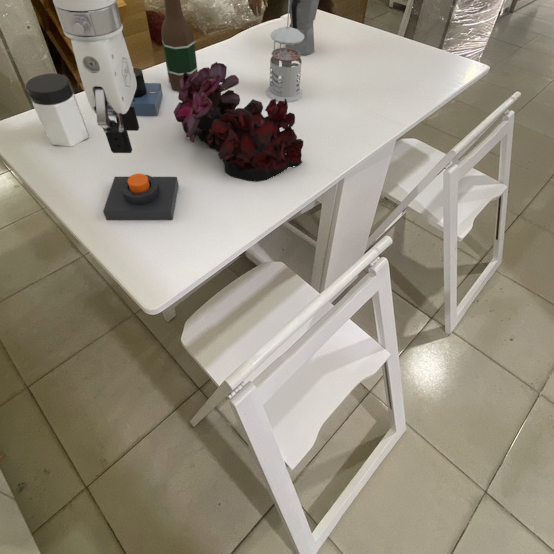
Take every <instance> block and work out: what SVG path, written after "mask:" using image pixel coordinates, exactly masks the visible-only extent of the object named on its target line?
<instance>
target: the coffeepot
mask: <svg viewBox="0 0 554 554" xmlns="http://www.w3.org/2000/svg"><path fill="white" fill-rule="evenodd" d="M319 4H320V0H290V4H289V18H290V19H289V20H290V23H289V25H288V27H291V28H295V29H297V30H299V31H300V32H301V33H302V34H304V39H303V41H302V42H300V43H298V44H293V45H287V48H291V49H295V50H297V51H299V52H300V54H301V56H303V57H304V56H309V55H312V54H313V53H314V52H315V33H314V21H315V20H316V16H317V11H318V7H319ZM301 56H300V57H301Z"/></svg>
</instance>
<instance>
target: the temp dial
mask: <svg viewBox="0 0 554 554" xmlns="http://www.w3.org/2000/svg"><path fill="white" fill-rule="evenodd" d="M132 66H133V65H132ZM133 70H134V74H135V77H136V82H137V87H136V91H135V94H134V97H133V98H137V97H142V96H144V95H145V94H146V93H147V91H146V86H145V83H146V82H145V77H144V73H143V70H142V69H141V68H138V67H135V66H133Z"/></svg>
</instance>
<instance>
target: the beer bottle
mask: <svg viewBox="0 0 554 554" xmlns="http://www.w3.org/2000/svg"><path fill="white" fill-rule="evenodd" d="M164 9H165V11H164V12H165V13H164V14H165V16H164V19H163V21H162V24H161V30H160V33H161V42H162V47H163V53H164V59H165V60H164V61H165V64H166V70H167V71H166V72H167V77H168V81H169V85H170V87H171V90H172V91H174V92H175V91H176V92H178V93H179V92H180V90H181V85H180V80H181V78H182V77H183V73H184V72H186V73H188V74H189V75H194V76H195V74H196V73H197V72H198V71H199V70H198V63H197V55H196V46H195V39H194V33H193V31H192V28H191V26H190V24H189V23H188V21H187V19H186V17H185V15H184V13H183V9H182V3H181V0H164Z"/></svg>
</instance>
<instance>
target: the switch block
mask: <svg viewBox="0 0 554 554" xmlns="http://www.w3.org/2000/svg"><path fill="white" fill-rule="evenodd" d="M145 175H146V176H147V177H148V181H149V184H150V188H149V189H148V190H147V191H145V192H142V193H133V192H132V191H131V190H130V188H129V185H128V178H129V177H130V176H113V177H114V178H113V181H112V183H111V186H110V190H109V193H108V196H107V199H106V202H105V205H104V207H103V210H102V213H103V215H104V217H105V219H106V221H173V220H174V214H175V209H176V202H177V199H178V191H179V181H178V180H179V179H178V176H151V175H149V174H145Z"/></svg>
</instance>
